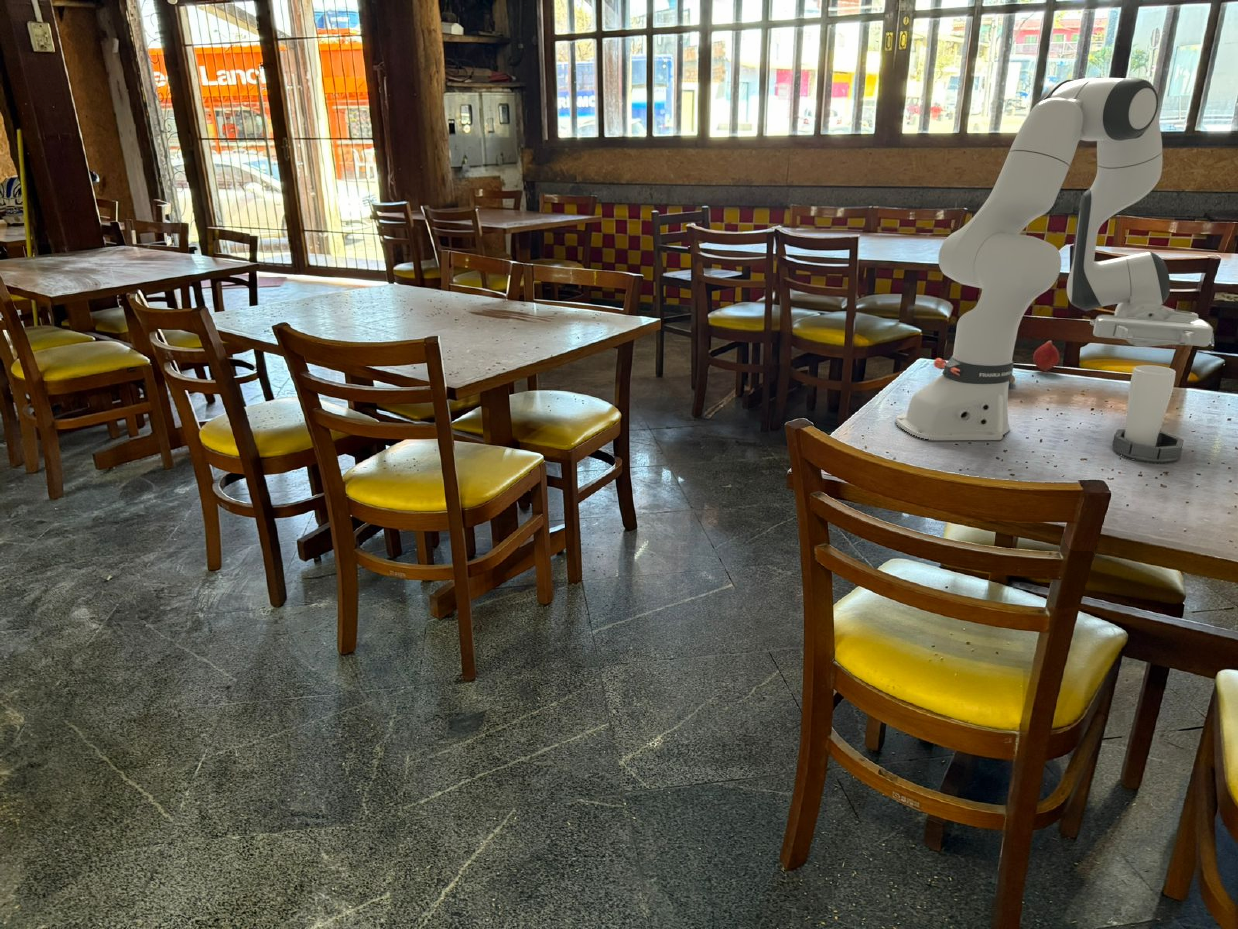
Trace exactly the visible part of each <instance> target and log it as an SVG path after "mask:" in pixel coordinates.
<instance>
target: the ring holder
mask: <svg viewBox="0 0 1238 929" xmlns="http://www.w3.org/2000/svg"><path fill="white" fill-rule="evenodd" d="M1124 435H1125V428H1120V429H1119V428H1118V429H1116V431H1115V433H1114V435H1113V440H1112V443H1111V444H1112V445H1111V446H1112V448H1111V449H1113V450H1112V451H1113V452H1114V453H1115V452H1116V453H1117V454H1116V453H1115V454H1116V455H1118V454H1119V455H1118V456H1120V455H1122V456H1124V457H1123V458H1125V457H1126V458H1125V459H1127V460H1128V459H1129V460H1131V459H1134V460H1133V461H1135V460H1136V462H1140V463H1146V462H1149V463H1148V464H1155V463H1157V464H1158V465H1163V464H1166V463H1167V464H1173V463H1174V464H1175V463H1177V462H1178V461H1179V460H1180V459H1181V455H1182V451H1183V448H1184V443H1185V440H1184V439H1183V438H1181V437H1178V436H1175V435H1174V434H1171V433H1169V432H1165V431H1161V430H1160V432H1159V435H1158V439H1157V443H1156V447H1155V446H1149V445H1143V444H1137V443H1133V442H1131V441H1129V440H1127V439H1125V438H1124ZM1122 456H1121V457H1122ZM1159 463H1160V464H1159Z"/></svg>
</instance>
